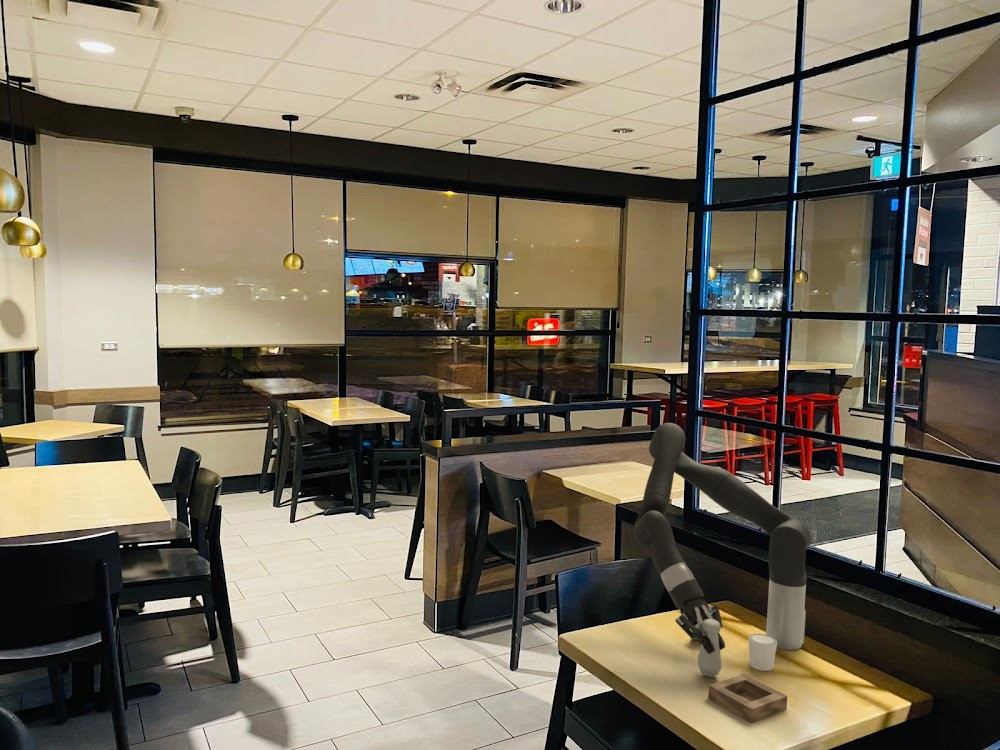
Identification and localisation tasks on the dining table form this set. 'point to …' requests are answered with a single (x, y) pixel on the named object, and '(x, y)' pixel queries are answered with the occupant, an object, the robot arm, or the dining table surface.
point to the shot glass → (762, 651)
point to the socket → (751, 711)
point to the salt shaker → (712, 661)
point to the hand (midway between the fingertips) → (716, 650)
